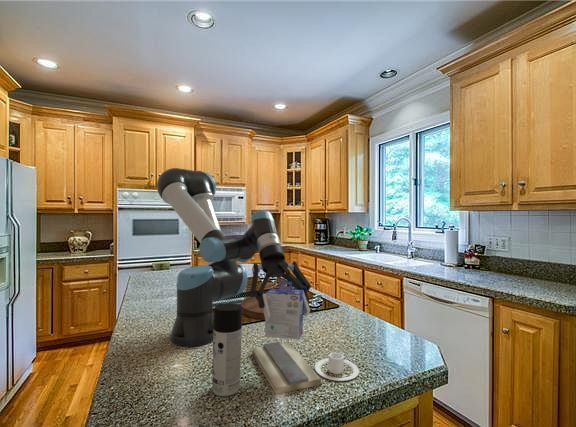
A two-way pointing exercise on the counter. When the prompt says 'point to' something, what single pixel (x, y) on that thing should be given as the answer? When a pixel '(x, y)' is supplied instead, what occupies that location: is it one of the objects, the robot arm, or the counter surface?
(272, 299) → the ink cartridge box
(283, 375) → the rail board
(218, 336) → the spray can
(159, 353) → the counter surface
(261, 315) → the cutting board
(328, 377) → the candle holder
